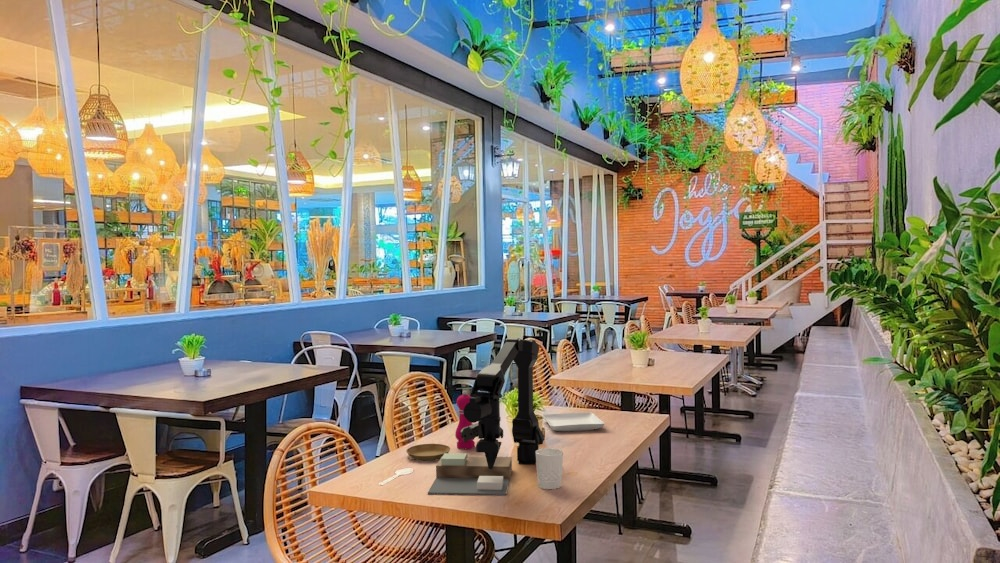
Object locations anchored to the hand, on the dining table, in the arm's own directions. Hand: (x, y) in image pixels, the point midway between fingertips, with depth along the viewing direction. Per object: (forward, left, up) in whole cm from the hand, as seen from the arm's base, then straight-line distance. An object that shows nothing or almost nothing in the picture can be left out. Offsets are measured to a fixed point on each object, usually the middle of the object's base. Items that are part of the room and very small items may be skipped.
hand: (490, 468), depth 199 cm
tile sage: (+12, -8, -1) cm, 15 cm away
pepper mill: (+13, -41, -5) cm, 43 cm away
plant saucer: (+24, -29, -5) cm, 38 cm away
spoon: (+30, -7, -5) cm, 31 cm away
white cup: (-17, 0, -5) cm, 18 cm away
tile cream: (0, +2, -2) cm, 3 cm away
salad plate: (-25, -73, -5) cm, 77 cm away
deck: (+6, -10, -5) cm, 13 cm away
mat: (+6, +2, -5) cm, 8 cm away
